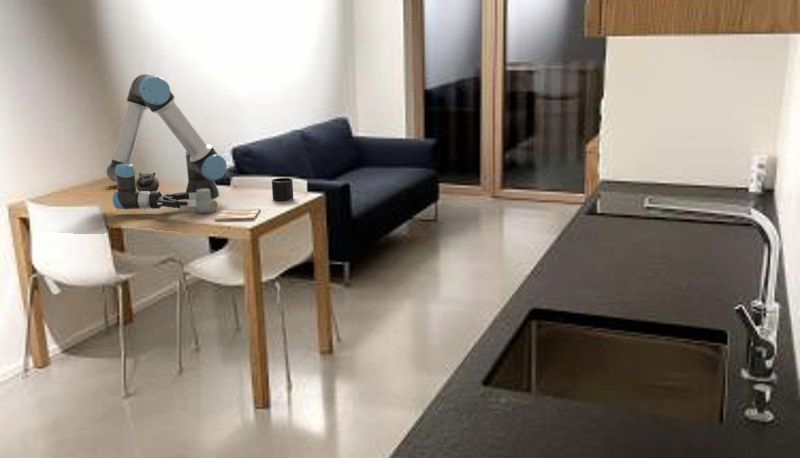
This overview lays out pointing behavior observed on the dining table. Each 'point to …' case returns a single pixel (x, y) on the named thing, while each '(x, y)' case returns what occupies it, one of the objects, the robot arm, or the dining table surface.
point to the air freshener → (204, 202)
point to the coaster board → (237, 214)
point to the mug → (282, 189)
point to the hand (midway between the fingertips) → (200, 199)
